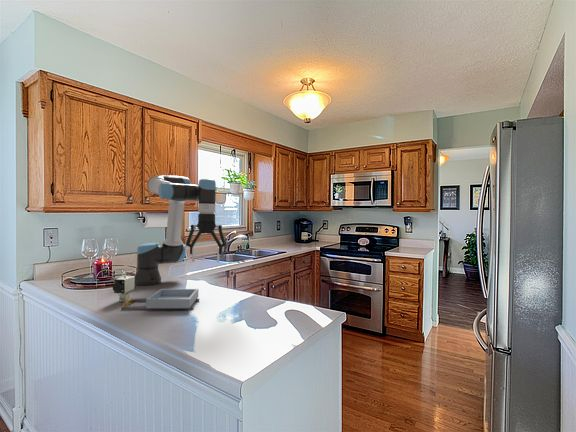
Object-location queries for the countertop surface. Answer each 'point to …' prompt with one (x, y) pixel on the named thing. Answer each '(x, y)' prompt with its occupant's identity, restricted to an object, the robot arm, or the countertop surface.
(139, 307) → the rails
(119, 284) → the pneumatic valve
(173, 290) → the shallow square tray
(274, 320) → the countertop surface
